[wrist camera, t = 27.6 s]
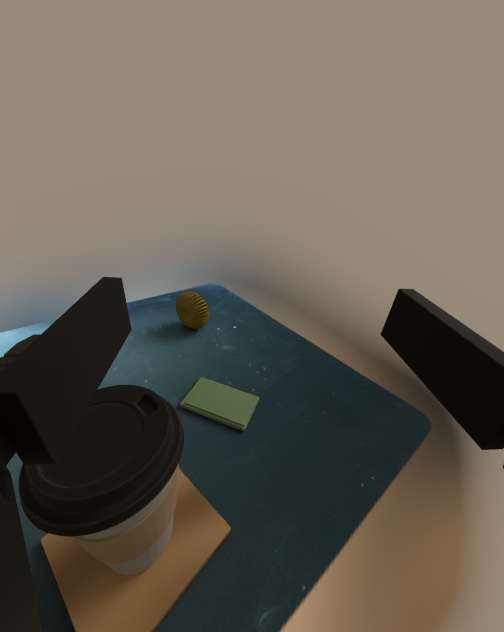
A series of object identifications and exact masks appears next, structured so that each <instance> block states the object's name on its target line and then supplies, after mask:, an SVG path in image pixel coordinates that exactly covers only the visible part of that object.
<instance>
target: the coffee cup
mask: <svg viewBox="0 0 504 632" xmlns="http://www.w3.org/2000/svg"><path fill="white" fill-rule="evenodd" d="M183 443H184V434H183V427H182V424H181V421H180V419H179V416H178V414H177V412H176V410H175V409H174V408H173V406H172V405H171V404H170V403H169V402H168V401H167V400H165V399H164V398H162V397H161V396H159V395H158V394H156V393H155V392H153V391H152V390H150V389H147V388H144V387H140V386H135V385H117V386H110V387H105V388H101V389H98V390H97V391H96V392H95V394H94V396H93V398H92V399H91V401H90V403H89V405H88V406H87V408H86V410H85V412H84V413H83V415H82V417H81V419H80V420H79V422H78V424H77V425H76V427H75V429H74V431H73V432H72V434H71V436H70V438H69V439H68V441H67V443H66V445H65V446H64V448H63V450H62V452H61V453H60V455H59V457H58V459H57V460H56V462H55V464H32V465H24V464H23V465H22V468H21V471H20V476H19V494H20V498H21V504H22V507H23V510H24V512H25V514H26V516H27V517H28V519H29V520H30V521H31V522H32V523H33V524H34V525H35V526H36V527H38V528H39V529H41V530H43V531H45V532H47V533H50V534H53V535H58V536H68V537H71V538H72V539H73V540H74V541H75V542H77V543H78V544H79V545H80V546H81V547H82V548H84V549H85V550H86V551H87V552H88V553H89V554H90V555H92V556H93V557H94V558H96V559H97V560H99V561H100V562H103V563H105V564H107V565H108V566H109V567H110V568H111V569H112V570H114V571H115V572H117V573H118V574H121V575H124V576H132V575H135V574H138V573H140V572H142V571H144V570H145V569H147V568H148V567H149V566H151V565H152V564H153V563H154V562H155V561H156V560H157V559H158V558H159V556H160V555H161V554H162V552H163V551H164V549H165V548H166V546H167V544H168V542H169V539H170V537H171V534H172V529H173V517H174V511H175V506H176V500H177V485H178V470H179V461H180V458H181V454H182V450H183Z"/></svg>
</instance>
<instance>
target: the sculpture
mask: <svg viewBox="0 0 504 632" xmlns="http://www.w3.org/2000/svg"><path fill="white" fill-rule="evenodd" d="M205 304H206V305H205ZM176 311H177V315H178V316H179V318H180V320H181V322H182V323H183V324H185V325H186V326H187V327H189V328H192V329H198V328H201V327H203V326H205V325H206V323H207V322H208V320H209V314H210V312H209V307H208V304H207V303H206V301H205V299H204V298H203V297H202V296H201V295H200V294H198V293H196V292H192V291H188V292H184V293H182V294H181V295H180V296H179V297H178V298H177V301H176Z"/></svg>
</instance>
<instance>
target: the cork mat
mask: <svg viewBox="0 0 504 632" xmlns="http://www.w3.org/2000/svg"><path fill="white" fill-rule="evenodd" d="M230 532H231V527H230V526H229V525H228V524H227V523H226V522H225V521H224V519H223V518H222V517H221V516H220V515H219V514H218V513H217V511H216V510H215V509H214V508H213V507H212V506H211V505H210V503H209V502H208V501H207V500H206V499H205V498H204V497H203V495H202V494H201V493H200V492H199V491H198V490H197V489H196V487H195V486H194V485H193V484H192V483H191V482H190V481H189V479H188V478H187V477H186V476H185V475H184V474H183V473H182V471H181V470H180V469H179V470H178V485H177V500H176V506H175V511H174V517H173V529H172V534H171V537H170V539H169V542H168V544H167V546H166V548H165V549H164V551H163V552H162V554H161V555H160V556H159V558H158V559H157V560H156V561H155V562H154V563H153V564H152V565H151V566H149V567H148V568H147V569H145V570H144V571H142V572H140V573H138V574H135V575H132V576H124V575H121V574H118V573H117V572H115V571H114V570H112V569H111V568H110V567H109V566H108V565H107V564H105V563H103V562H100V561H99V560H97V559H96V558H94V557H93V556H92V555H90V554H89V553H88V552H87V551H86V550H85V549H84V548H82V547H81V546H80V545H79V544H78V543H77V542H75V541H74V540H73V539H72V538H71V537H68V536H58V535H53V534H50V533H48V534H47V535H46V536H44V537H43V538H42V539H41V543H42V545H43V548H44V550H45V553H46V556H47V558H48V561H49V563H50V566H51V569H52V571H53V574H54V576H55V579H56V581H57V584H58V587H59V589H60V592H61V594H62V597H63V600H64V602H65V605H66V607H67V610H68V613H69V615H70V618H71V620H72V623H73V626H74V628H75V631H76V632H153V631H154V630H155V628H156V627H157V626H158V625H159V623H160V622H161V621H162V619H163V618H164V617H165V616H166V614H167V613H168V612H169V610H170V609H171V608H172V607H173V605H174V604H175V603H176V601H177V600H178V599H179V597H180V596H181V595H182V594H183V592H184V591H185V590H186V588H187V587H188V586H189V585H190V583H191V582H192V581H193V579H194V578H195V577H196V576H197V574H198V573H199V572H200V570H201V569H202V568H203V567H204V565H205V564H206V563H207V561H208V560H209V559H210V557H211V556H212V555H213V554H214V552H215V551H216V550H217V548H218V547H219V546H220V545H221V543H222V542H223V541H224V539H225V538H226V537H227V536H228V534H229V533H230Z"/></svg>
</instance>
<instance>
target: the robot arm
mask: <svg viewBox="0 0 504 632" xmlns="http://www.w3.org/2000/svg"><path fill="white" fill-rule="evenodd" d="M130 331H131V324H130V319H129V314H128V309H127V304H126V298H125V293H124V288H123V283H122V278H115V277H103V278H102V279H101V280H100V281H98V282H97V283H96V284H95V285H94V286H93V287H92V288H91V289H90V290H89V291H88V292H87V293H86V294H84V295H83V296H82V297H81V298H80V299H79V300H78V301H77V302H76V303H75V304H74V305H73V306H71V307H70V308H69V309H68V310H67V311H66V312H65V313H64V314H63V315H62V316H61V317H60V318H59V319H57V320H56V321H55V322H54V323H53V324H52V325H51V326H50V327H49V328H48V329H47V330H46V331H44V332H43V333H42V334H41V335H32V336H30V337H28V338H27V339H25V340H23V341H21V342H19V343H17V344H16V345H15V346H13V347H12V348H11V349H10V350H9V351H8V352H6V353H5V354H4V357H1V358H0V632H43V629H42V624H41V619H40V615H39V610H38V605H37V600H36V595H35V590H34V585H33V581H32V576H31V571H30V566H29V561H28V556H27V551H26V546H25V542H24V537H23V532H22V527H21V522H20V517H19V512H18V508H17V503H16V498H15V493H14V488H13V483H12V478H11V474H10V472H9V470H8V469H7V467H6V465H7V464H8V462H9V461H10V460H11V458H12V457H13V456H14V454H15V453H17V454H18V456H19V457H20V459H21V460H22V462H23V464H24V465H32V464H55V462H56V460H57V459H58V457H59V455H60V453H61V452H62V450H63V448H64V446H65V445H66V443H67V441H68V439H69V438H70V436H71V434H72V432H73V431H74V429H75V427H76V425H77V424H78V422H79V420H80V419H81V417H82V415H83V413H84V412H85V410H86V408H87V406H88V405H89V403H90V401H91V399H92V398H93V396H94V394H95V392H96V391H97V389H98V387H99V385H100V384H101V382H102V380H103V378H104V377H105V375H106V373H107V372H108V370H109V368H110V366H111V365H112V363H113V361H114V359H115V358H116V356H117V354H118V352H119V351H120V349H121V347H122V345H123V344H124V342H125V340H126V338H127V337H128V335H129V333H130ZM381 335H382V337H384V339H385V340H386V341H387V342H388V343H389V345H390V346H391V347H392V348H393V349H394V350H395V351H396V352H397V354H398V355H399V356H400V357H401V358H402V359H403V360H404V362H405V363H406V364H407V365H408V366H409V367H410V368H411V370H413V372H414V373H415V374H416V375H417V376H418V378H419V379H420V380H421V381H422V382H423V383H424V384H425V385H426V387H427V388H428V389H429V390H430V391H431V392H432V394H434V396H435V397H436V398H437V399H438V400H439V401H440V402H441V404H442V405H443V406H444V407H445V408H446V409H447V411H448V412H449V413H450V414H451V415H452V416H453V417H454V419H455V420H456V421H457V422H458V423H459V424H460V425H461V426H462V428H463V429H464V430H465V431H466V432H467V433H468V434H469V435H470V436H471V438H472V439H473V440H474V441H475V442H476V443H477V445H478V446H479V447H480V448H481V449H482V450H489V449H503V448H504V352H503V351H501V350H500V349H498V348H497V347H496V346H494V345H493V344H491V343H489V341H487V340H486V339H484V338H483V337H481V336H480V335H478V334H477V333H475V332H474V331H473V330H471V329H469V328H468V327H467V326H465V325H464V324H463V323H461V322H460V321H458V320H457V319H455V318H454V317H452V316H451V315H449V314H448V313H447V312H445V311H444V310H442V309H441V308H439V307H438V306H437V305H435V304H434V303H432V302H431V301H429V300H428V299H426V298H425V297H424V296H422V295H421V294H419V293H418V292H416V291H415V290H413V289H399V290H398V292H397V295H396V297H395V300H394V302H393V305H392V307H391V310H390V312H389V315H388V317H387V320H386V322H385V325H384V327H383V330H382V332H381ZM503 468H504V465H503Z"/></svg>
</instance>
